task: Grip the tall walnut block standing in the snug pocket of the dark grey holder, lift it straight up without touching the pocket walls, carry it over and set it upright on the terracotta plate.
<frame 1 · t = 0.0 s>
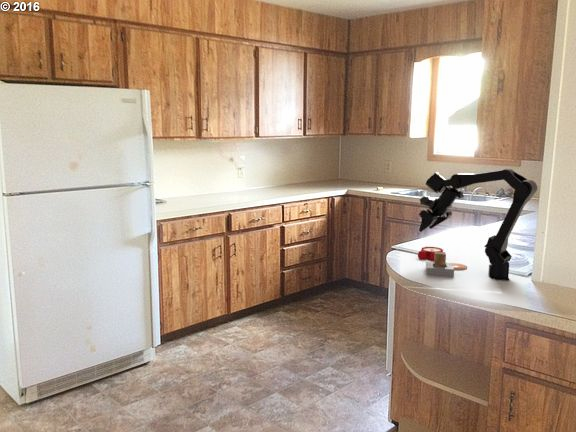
hand: (425, 229, 220), 15 cm above the countertop, tool tilted 35°, fingers open, 9 cm apart
pocket holder: (439, 274, 208), on the countertop
terracotta plate: (455, 268, 216), on the countertop
walnut block: (439, 272, 208), resting on pocket holder
alarm clock: (430, 259, 232), on the countertop
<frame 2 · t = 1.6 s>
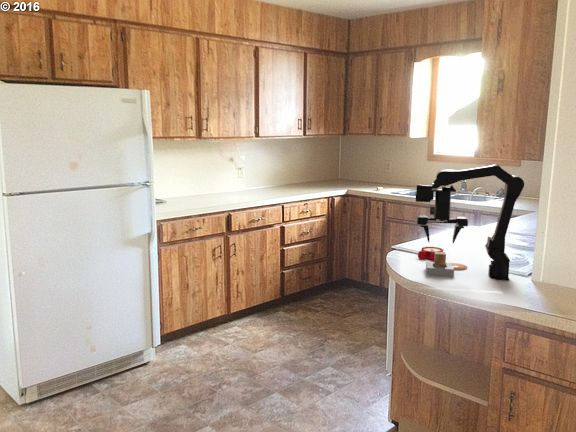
hand: (440, 242, 206), 13 cm above the countertop, tool pointing down, fingers open, 9 cm apart
nothing on the countertop moved.
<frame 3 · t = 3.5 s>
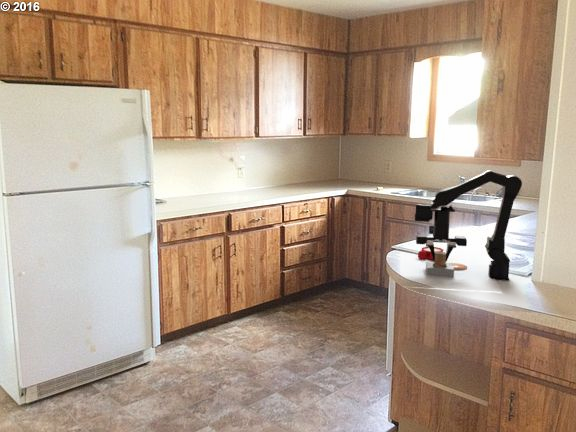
hand: (439, 261, 207), 5 cm above the countertop, tool pointing down, fingers closed on walnut block, 4 cm apart
walnut block: (439, 272, 208), resting on pocket holder, touching gripper
everything else where it was.
when the fingers open (6 cm above the countertop, at t = 8.0 s): walnut block stays where it is, resting on terracotta plate.
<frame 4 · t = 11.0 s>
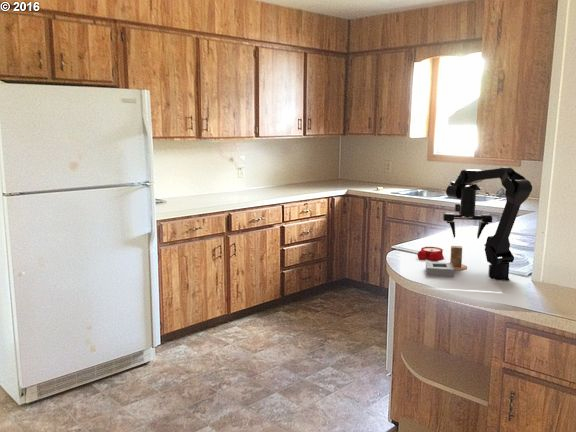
hand: (466, 238, 217), 12 cm above the countertop, tool pointing down, fingers open, 9 cm apart
walnut block: (455, 266, 216), point 1 cm above the countertop, touching terracotta plate
everything else where it was.
at the end: walnut block 0.1 cm off-centre on the terracotta plate, point 1.0 cm above the terracotta plate's base; walnut block tilted 0°; the gripper is holding nothing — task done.
